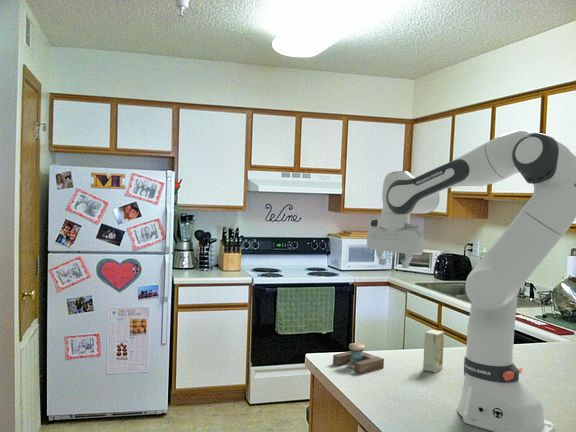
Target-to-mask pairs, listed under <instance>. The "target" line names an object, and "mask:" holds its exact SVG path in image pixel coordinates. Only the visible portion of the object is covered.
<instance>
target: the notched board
mask: <svg viewBox="0 0 576 432" xmlns="http://www.w3.org/2000/svg"><path fill="white" fill-rule="evenodd" d="M350 357H351V350H350V351H346V352H340V353H336V354H333V356H332V364H333V366H334V365H335V366H336V367H341V366H344V365H348V363H349V362H350ZM384 365H385V358H383V357H380V356H376V355H373V354H370V353H368V352H364V351H363V354H362V361H359V362H355V369H353V370H354V371H353V372H354V373H356V374H359V375H363V374H367V373H371V372H375V371H378V370H382V369H384Z"/></svg>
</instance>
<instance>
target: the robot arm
mask: <svg viewBox="0 0 576 432" xmlns="http://www.w3.org/2000/svg"><path fill="white" fill-rule="evenodd" d="M518 173H519V174H520V175H521V176H522V177H523V179H524V181H525V182H526V183H527V184H531V185H533V192H532V193H533V194H532V196H531V197H530V198H529V200H527V203H525V204H524V206H523V208H522V209H520V211H519V212H518V214H516V216H515V218H513V220H512V221H511V223H510V224H509V225H508V227H506V229H505V230H504V232H503V233H502V234H501V235H500V237H498V239H497V240H496V241H495V242H494V243H493V244H492V246H491V247H490V248H489V250H488V251H487V252H486V253H485V254H484V256H483V257H482V258H481V259H480V260H479V261H478V263H477V264H476V265H475V266H474V268H472V270H471V271H470V272H469V274H467V277H466V280H465V294H466V296H467V297H468V300H469V301H470V303H471V305H470V309H469V310H470V311H469V316H468V317H469V318H468V322H467V330H466V331H467V333H466V335H467V336H466V354H465V356H464V361H463V375H464V379H463V385H462V386H463V387H462V391H461V395H460V399H459V404H458V405H457V408H456V411H457V413H458V414H459V416H461V418H462V422H463V423H465V424H468V425H470V426H474V427H477V428H480V429H484V430H488V431H491V432H554V429H555V426H554V423H553V422H551V421H549V420H547V419H545V415H544V414H545V413H544V407H543V404H542V401H541V399H540V398H539V397H537V396H536V395H535V394H534V393H533V391H531V390H530V389H529V388H528V387H527V386H526V385H525V384H524V383H523V382H522V381H521V379H520V374H521V373H523V367H521V368H517V366H516V364H515V363H514V361H513V360H514V341H515V340H514V338H515V328H516V327H515V326H516V316H517V306H518V294H519V290H520V289H521V288H522V286H523V285H524V284H525V282H527V280H528V279H529V278H530V277H531V276H532V274H533V273H534V271H536V270H537V268H538V267H539V266H540V265H541V263H542V262H543V261H544V260H545V258H546V257H547V256H548V254H549V253H550V252H551V251H552V250H553V248H555V246H556V245H557V244H558V243H559V241H560V240H561V239H562V238H563V236H564V235H565V234H566V233H567V232H568V230H569V229H570V227H571V226H572V224H573V223H574V222H575V220H576V156H575V154H573V152H572V151H571V150H570V149H569V147H567V146H566V145H564V144H563V143H562V142H559V141H558V140H555V138H553V137H552V136H550V135H548V134H544V133H540V132H530V131H529V130H526V129H517V130H513V131H510V132H506V133H504V134H502V135H499V136H497V137H495V138H493V139H491V140H489V141H487V142H485V143H483V144H481V145H479V146H477V147H475V148H474V149H472V150H470V151H468V152H467V153H464V154H463V155H461V156H459V157H457V158H454V159H453V160H451V161H449V162H446V163H445V164H443V165H440V166H437V167H436V168H434V169H431V170H429V171H427V172H425V173H423V174H420V175H419V176H416V177H414V176H413V175H412V174H411V173H410V172H409V171H404V170H400V171H392V172H390V173H388V174H386V175H385V177H384V179H383V186H382V191H381V193H382V194H381V200H382V209H381V216H379V217H376V218H373V219H370V220H368V227H369V228H368V230H367V235H366V246H367V248H368V249H369V250H372V251H373V250H375V254H376V258H377V259H378V265H382V266H383V265H384V266H385V265H386V258H384V255H383V254H384V252H390V253H398V254H399V253H400V254H404V257H405V260H404V261H402V262H401V268H402V269H410V263H411V261H412V259H413V258H414V257H413V256H414V255H415V256H416V255H418V256H419V255H422V253H424V239H423V238H424V237H423V232H424V231H423V228H422V227H421V226H420V225H419V224H416V223H411V222H410V220H411V219H410V218H411V214H412V215H415V214H423V215H424V214H429V213H432V212H433V211H435V209H436V208H437V207H438V205H439V203H440V192H442V191H444V190H447V189H451V188H456V187H457V188H458V187H483V186H487V185H488V186H489V185H491V184H496V183H498V182H501V181H504V180H505V179H507V178H509V177H511V176H514V175H516V174H518Z"/></svg>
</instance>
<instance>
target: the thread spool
mask: <svg viewBox="0 0 576 432" xmlns="http://www.w3.org/2000/svg"><path fill="white" fill-rule="evenodd" d="M365 346H366V345H365V344H363V343H360V342H359V343H357V342H356V343H349V345H348V349H349V350H350V351H351V357H350V362H349V363H348V364H347V365H348V366H347V367H348V368H349V369H352V370H354V369H355V362H359V361H362V354H363V352H364V350H365V349H366V348H365Z"/></svg>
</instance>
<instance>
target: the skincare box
mask: <svg viewBox="0 0 576 432" xmlns="http://www.w3.org/2000/svg"><path fill="white" fill-rule="evenodd" d="M444 337H445V332H444V331H442V330H436V329H430V330H427V331H425V332H424V343H423V344H424V345H423V346H424V347H423V361H422V364H423V365H422V371H428V372H430V373H437V372H439V371H440V370H442V369H443V364H444V363H443V362H444V341H445V340H444Z"/></svg>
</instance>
